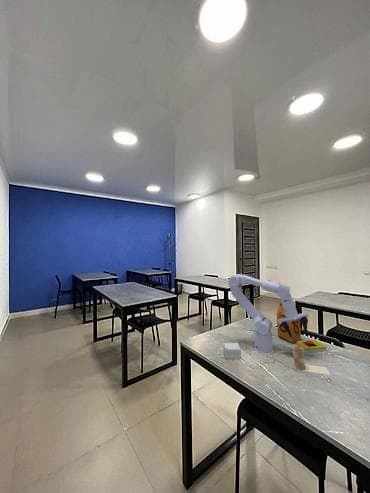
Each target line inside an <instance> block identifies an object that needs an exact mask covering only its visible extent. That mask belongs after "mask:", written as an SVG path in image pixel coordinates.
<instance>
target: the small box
mask: <svg viewBox="0 0 370 493" xmlns="http://www.w3.org/2000/svg"><path fill="white" fill-rule="evenodd" d="M223 354H224V357H225V359H226V360H242V354H241V348H240V345H239V342H224V343H223Z"/></svg>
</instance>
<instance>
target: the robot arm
mask: <svg viewBox="0 0 370 493" xmlns="http://www.w3.org/2000/svg"><path fill="white" fill-rule="evenodd" d="M227 283H228V285H229V289H230V292H231V295H232V296H233V297H234V299H235V300H236V301H237V302H238V304H239V305H240V306H241V308H243V309H244V311H245V312H246V314H247V315H249V317H250V318H251V319H252V320H253V325H254V326H255V327H256V330H257V331H254V332H253V341H254V342H253V346H254V347H253V348H254V351H255V352H256V351H257V352H262V353H270V354H274V345H273V332H272V330H271V329H272V328H273V322H272V321H271V319H270V318H267V316H265V315H264V314H261V313H260V311H259V310H258V309H257V308H256V307H255V306H254V304H252V302H251V301H250V300H249V299H248V298H247V296H246V295H245V294H244V293H243V291H242V289H243V288H242V287H243V285H245V284H249V285H253V286H257V287H259V288H261V289H263V291H266V292H269V293H271V294H275V295H276V294H277V296H278V297H279V299H280V300H281V303H282V306H283V309H284V312H285V315H286V317H284V318H281V319H278V322H279V324H282V326H283V327H284V328H285V329H286V331H287V332H288V334H289V336H290V337H292V335H291V332H290V329H289V325H288V324H287V323H286V322H289V321H294V320H298V319H299V320H300V324H301V326H302V329H303V332H304V334H308V324H309V323H308V322H309V320H308V319H309V317H310V316H309V315H308V313H307V312H303V313H299V312H298V310H296V309H297V307H296V305H294V304H295V302H294V300H293V297H292V294H291V289H290V288H291V287H289V286H288V285H287V284H285V283H281V282H275V281H272V279H265V280H260V279H258V278H255V277H252V276H249V275H246V274H241V273H237V274H234V275H231V276H230V277H229V278H228V282H227ZM295 307H296V308H295ZM297 312H298V313H297Z"/></svg>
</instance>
